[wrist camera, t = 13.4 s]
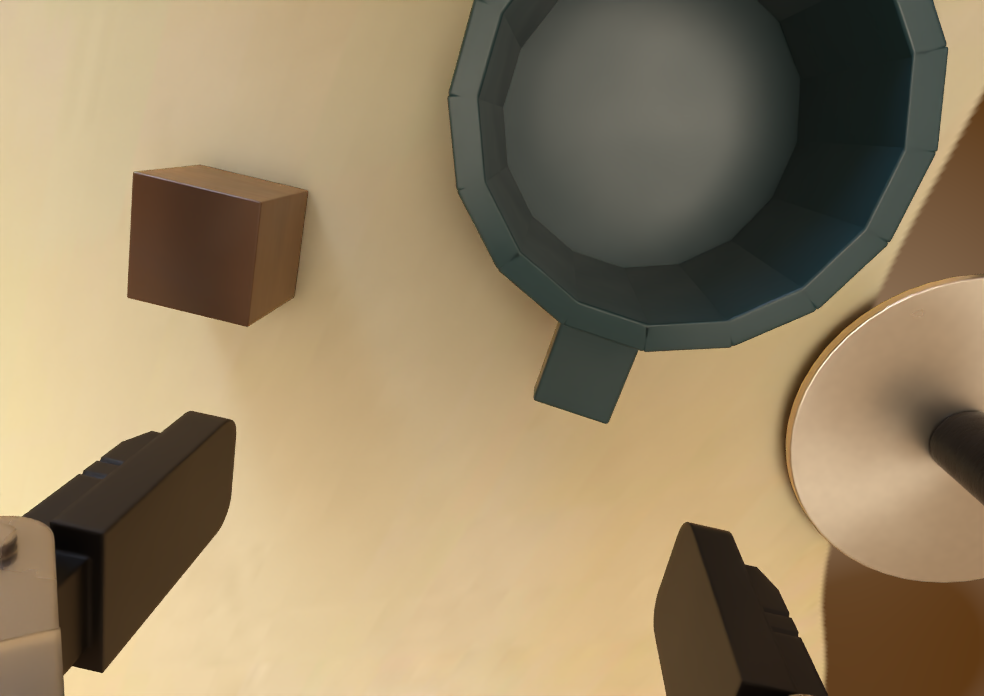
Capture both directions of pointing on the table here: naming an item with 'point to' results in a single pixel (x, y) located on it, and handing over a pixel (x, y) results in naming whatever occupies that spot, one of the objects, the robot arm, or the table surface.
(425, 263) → the table surface
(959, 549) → the lid
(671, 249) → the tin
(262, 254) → the block
